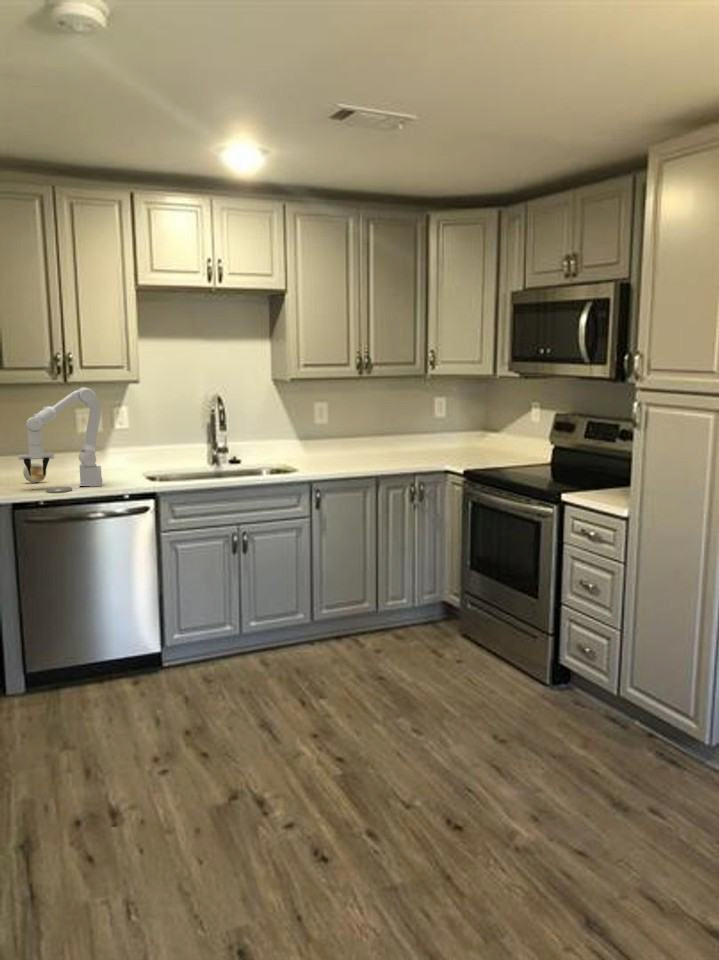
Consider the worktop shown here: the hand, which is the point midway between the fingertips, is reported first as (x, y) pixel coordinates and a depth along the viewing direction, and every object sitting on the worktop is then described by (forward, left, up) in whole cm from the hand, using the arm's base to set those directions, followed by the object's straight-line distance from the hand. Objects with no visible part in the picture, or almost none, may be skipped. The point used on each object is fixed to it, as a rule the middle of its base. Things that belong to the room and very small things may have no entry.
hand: (37, 475), depth 349 cm
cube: (0, 0, -1) cm, 1 cm away
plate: (-9, +7, -6) cm, 13 cm away
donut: (+3, -18, -6) cm, 19 cm away
